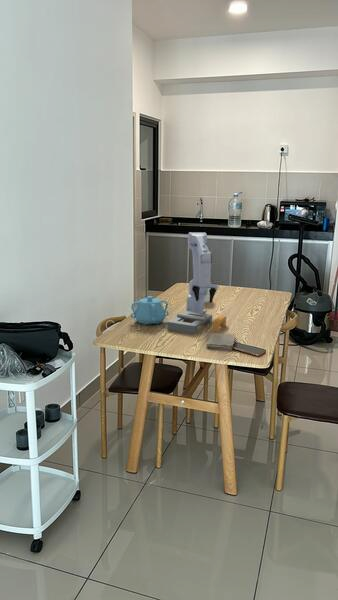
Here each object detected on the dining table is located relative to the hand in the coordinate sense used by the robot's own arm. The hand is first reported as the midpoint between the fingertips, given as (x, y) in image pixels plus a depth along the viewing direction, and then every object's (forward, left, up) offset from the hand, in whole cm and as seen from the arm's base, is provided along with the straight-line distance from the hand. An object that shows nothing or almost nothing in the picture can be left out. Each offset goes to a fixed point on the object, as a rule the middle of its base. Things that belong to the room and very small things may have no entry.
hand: (204, 301), depth 246 cm
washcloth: (+20, -28, -11) cm, 37 cm away
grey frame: (-3, -11, -11) cm, 16 cm away
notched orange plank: (+11, -7, -11) cm, 17 cm away
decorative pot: (-24, -15, -11) cm, 30 cm away
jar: (-18, +40, -11) cm, 45 cm away
